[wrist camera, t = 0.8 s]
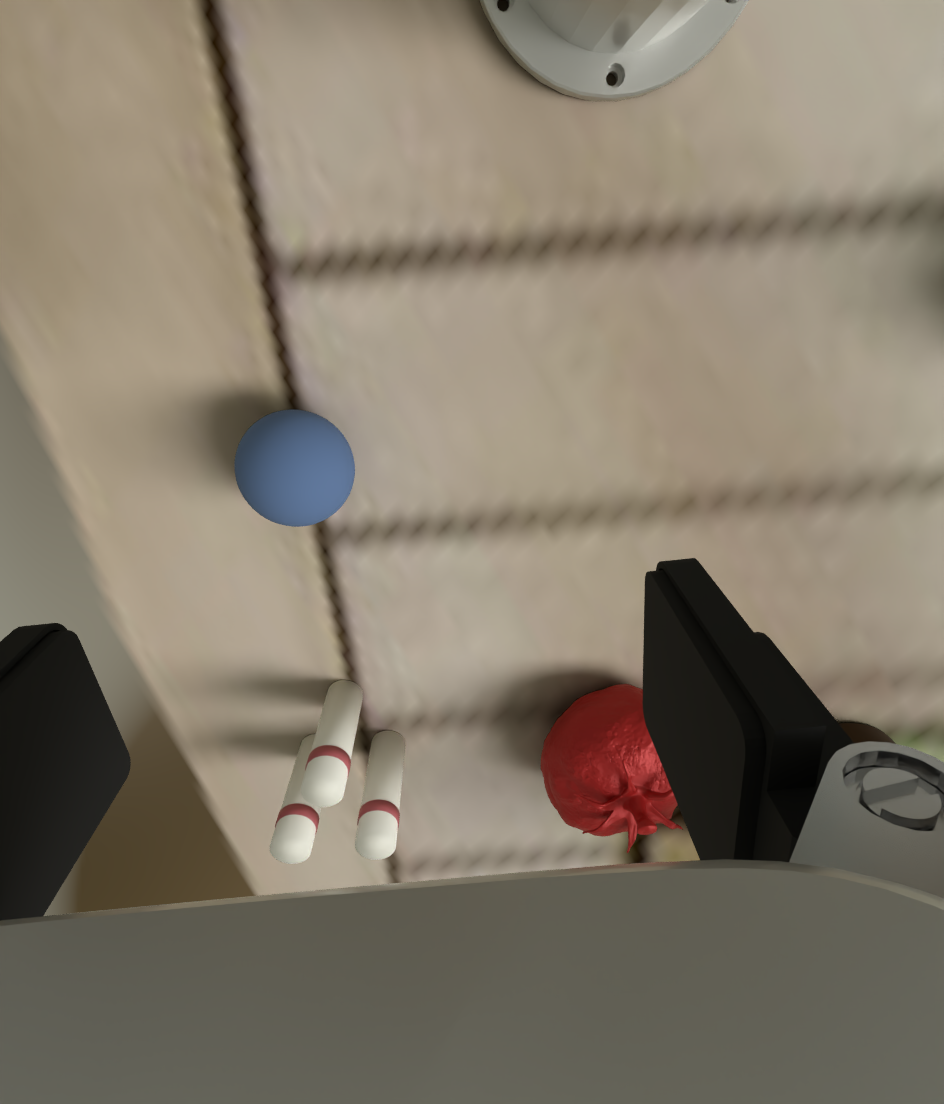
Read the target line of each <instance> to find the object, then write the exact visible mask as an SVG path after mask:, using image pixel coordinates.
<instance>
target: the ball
mask: <svg viewBox="0 0 944 1104" xmlns="http://www.w3.org/2000/svg"><path fill="white" fill-rule="evenodd" d="M354 475H355V464H354V459H353V454H352V451H351V448H350V446H349V444H348V442H347V440H346V439H345V437H344V435H343V434H342V433H341V432H340V431H339V429H338V428H336V427H335V426H334V425H333V424H332V423H331V422H329V421H328V420H326V419H325V418H323V417H321V416H319V415H317V414H314V413H311V412H308V411H303V410H282V411H278V412H274V413H271V414H269V415H266V416H265V417H263V418H261V419H260V420H258V421H257V422H255V423H254V424H253V425H252V426H251V427H250V428H249V429H248V430H247V432H246V433H245V434H244V436H243V437H242V439H241V441H240V443H239V445H238V448H237V452H236V456H235V476H236V481H237V484H238V487H239V489H240V492H241V493H242V495H243V497H244V498H245V500H246V501H247V502H248V504H249V505H250V506H251V507H252V508H253V509H254V510H255V511H256V512H257V513H259V514H260V515H261V516H263V517H264V518H266V519H268V520H270V521H272V522H275V523H278V524H282V525H286V526H308V525H312V524H315V523H318V522H321V521H323V520H325V519H327V518H328V517H330V516H331V515H333V514H334V513H335V512H336V511H337V510H338V509H339V508H340V507H341V506H342V505H343V504H344V502H345V501H346V499H347V497H348V496H349V494H350V492H351V489H352V486H353V481H354Z"/></svg>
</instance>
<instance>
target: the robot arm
mask: <svg viewBox="0 0 944 1104" xmlns="http://www.w3.org/2000/svg"><path fill="white" fill-rule="evenodd" d="M498 1H499V0H480V3H481V6H482V9H483V11H484V13H485V15H486V17H487V19H488V21H489V22H490V24H491V26H492V28H493V30H494V32H495V34H496V35H497V37H498V39H499V41H500V42H501V43H502V44H503V46H504V47H505V48H506V49H507V51H508V52H509V53H510V54H511V55H512V57H513V58H514V59H515V60H516V62H517V63H518V64H519V65H520V66H521V67H523V68H524V69H525V70H526V71H527V72H529V73H530V74H531V75H532V76H533V77H535V78H536V79H537V80H538V81H539V82H541V83H543V84H545V85H547V86H549V87H551V88H553V89H555V90H556V91H558V92H560V93H562V94H564V95H568V96H572V97H576V98H580V99H584V100H588V101H621V100H625V99H630V98H635V97H639V96H643V95H645V94H648V93H650V92H652V91H654V90H657V89H659V88H661V87H663V86H666V85H668V84H669V83H671V82H672V81H674V80H675V79H677V78H678V77H680V76H681V75H683V74H684V73H686V72H687V71H689V70H690V69H691V68H692V67H693V66H695V65H696V64H697V63H698V62H699V61H700V60H702V59H703V58H704V57H705V56H706V55H707V54H709V53H710V52H711V51H712V50H713V48H714V47H715V46H716V45H717V44H718V43H719V41H720V40H721V39H722V38H723V37H724V35H725V34H726V33H727V32H728V31H729V29H730V28H731V27H732V26H733V24H734V23H735V21H736V20H737V18H738V17H739V15H740V13H741V12H742V10H743V9H744V7H745V6H746V4H747V2H748V1H749V0H730V1H729V3H727V2H726V1H725V0H506V1H507V2H508V4H509V8H508V9H507V10H506V11H504V12H503V11H500V10H499V9H498V7H497V2H498ZM610 73H611V74H613V75H614V76H615V78H616V82H615V85H613V86H610V85H608V84H607V82H606V76H607V74H610ZM642 703H643V714H644V720H645V724H646V727H647V729H648V732H649V734H650V737H651V739H652V742H653V744H654V747H655V749H656V752H657V754H658V757H659V759H660V762H661V764H662V767H663V769H664V771H665V774H666V776H667V779H668V781H669V784H670V786H671V789H672V791H673V794H674V796H675V799H676V801H677V804H678V806H679V809H680V811H681V814H682V816H683V818H684V821H685V823H686V826H687V828H688V831H689V833H690V836H691V838H692V841H693V843H694V846H695V848H696V851H697V853H698V856H699V858H700V861H680V862H655V863H637V864H619V865H607V866H595V867H584V868H572V869H558V870H544V871H530V872H519V873H508V874H496V875H485V876H474V877H462V878H451V879H439V880H428V881H417V882H405V883H394V884H383V885H371V886H360V887H348V888H337V889H326V890H315V891H304V892H294V893H283V894H272V895H261V896H251V897H241V898H230V899H219V900H208V901H197V902H186V903H176V904H165V905H155V906H144V907H134V908H124V909H113V910H103V911H93V912H82V913H72V914H62V915H52V916H43V915H44V914H45V912H46V910H47V909H48V907H49V905H50V904H51V902H52V900H53V899H54V897H55V895H56V894H57V892H58V891H59V889H60V887H61V885H62V884H63V882H64V880H65V879H66V877H67V876H68V874H69V873H70V871H71V869H72V868H73V866H74V864H75V862H76V861H77V859H78V858H79V856H80V854H81V853H82V851H83V849H84V848H85V846H86V845H87V843H88V841H89V840H90V838H91V836H92V835H93V833H94V831H95V830H96V828H97V826H98V825H99V823H100V821H101V820H102V818H103V816H104V815H105V813H106V812H107V810H108V808H109V807H110V805H111V803H112V802H113V800H114V798H115V797H116V795H117V793H118V792H119V790H120V789H121V787H122V785H123V784H124V782H125V780H126V779H127V776H128V774H129V771H130V756H129V753H128V750H127V748H126V746H125V743H124V741H123V739H122V736H121V734H120V732H119V730H118V727H117V725H116V723H115V721H114V718H113V716H112V714H111V711H110V709H109V707H108V704H107V702H106V700H105V698H104V696H103V693H102V691H101V688H100V686H99V684H98V681H97V679H96V677H95V675H94V672H93V670H92V668H91V665H90V663H89V661H88V659H87V656H86V654H85V652H84V650H83V647H82V645H81V643H80V640H79V639H78V637H77V635H76V634H75V633H74V632H72V631H69V630H67V629H66V628H65V627H64V626H63V625H61V624H58V623H51V624H41V625H31V626H22V627H18V628H16V629H15V630H13V631H12V632H11V633H10V634H9V635H7V636H6V637H5V638H4V639H3V640H2V641H1V642H0V1104H944V763H943V762H942V761H940V760H939V759H937V758H935V757H933V756H931V755H928V754H926V753H923V752H921V751H918V750H916V749H914V748H910V747H906V746H902V745H898V744H893V743H888V742H871V741H867V742H861V743H854V742H853V741H852V740H851V738H850V737H849V736H848V735H847V733H846V732H845V731H844V730H843V728H842V727H841V726H840V725H839V724H838V722H837V721H836V720H835V719H834V717H833V716H832V715H831V714H830V712H829V711H828V710H827V709H826V707H825V706H824V705H823V704H822V702H821V701H820V700H819V699H818V698H817V696H816V695H815V694H814V693H813V691H812V690H811V689H810V688H809V686H808V685H807V684H806V683H805V681H804V680H803V679H802V678H801V676H800V675H799V674H798V673H797V672H796V670H795V669H794V668H793V667H792V665H791V664H790V663H789V662H788V660H787V659H786V658H785V657H784V655H783V654H782V653H781V652H780V650H779V649H778V648H777V647H776V646H775V644H774V643H773V642H772V641H771V639H770V638H769V637H767V636H766V635H765V634H764V633H760V632H753V631H752V630H751V628H750V627H749V626H748V624H747V623H746V622H745V621H744V619H743V618H742V617H741V615H740V614H739V613H738V612H737V610H736V609H735V608H734V606H733V605H732V604H731V603H730V601H729V600H728V599H727V597H726V596H725V595H724V594H723V592H722V591H721V590H720V589H719V587H718V586H717V585H716V583H715V582H714V581H713V580H712V578H711V577H710V576H709V574H708V573H707V572H706V571H705V569H704V568H703V567H702V565H701V564H700V563H699V562H698V560H696V559H695V558H691V559H681V560H671V561H661V562H659V563H658V564H657V568H656V571H650V572H647V573H646V576H645V605H644V654H643V702H642Z"/></svg>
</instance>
